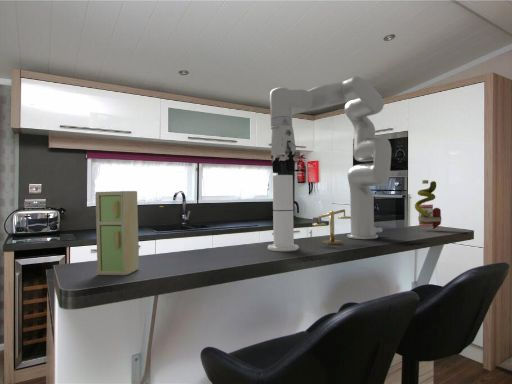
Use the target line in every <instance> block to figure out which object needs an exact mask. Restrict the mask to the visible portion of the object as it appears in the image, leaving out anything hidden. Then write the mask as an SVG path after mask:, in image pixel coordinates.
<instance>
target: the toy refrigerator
mask: <svg viewBox="0 0 512 384" xmlns="http://www.w3.org/2000/svg"><path fill="white" fill-rule="evenodd" d="M94 196H95V225H96V226H95V228H96V231H95V232H96V261H97V262H96V264H97V267H96V268H97V269H96V270H97V275H99V276H127V275H129V274H131V273H134V272H135V271H138V270H139V269H140V254H139V251H140V250H139V249H140V248H139V247H140V246H139V217H138V214H139V212H138V211H139V210H138V191H137V190H119V191H116V190H115V191H112V190H111V191H96V192H95V194H94Z"/></svg>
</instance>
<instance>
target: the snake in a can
mask: <svg viewBox="0 0 512 384" xmlns="http://www.w3.org/2000/svg"><path fill="white" fill-rule="evenodd" d="M421 182H422V184H423V185H424V184H425V185H427V184H429V180H428V179H424V180H423V179H422V181H421ZM436 188H437V182H436V181H434V180H432V181H431V182H430V184H429V187H428V188H424V189H420V190H417V195H418V196H419V197H424V198H422V199H419V200H418V201H416V202H415V204H414V209H415V210H416V211H417V212H418V216H417V217H418V218H417V219H418V224H419V227H432V228H433V230H434V229H437V228H438V227H439V226H441V224H442V212H441V211H442V210H441V208H440V207H434V205H433V204H425V203H427V202H430V201H433V200H435V199H436V195H435V194H434V193H433V192H435V190H436Z"/></svg>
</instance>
